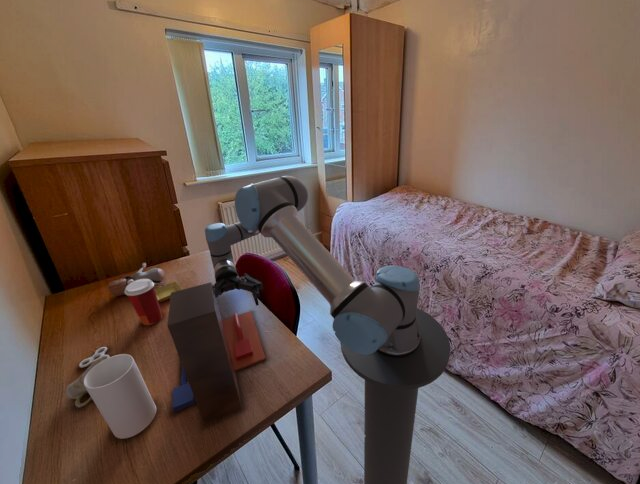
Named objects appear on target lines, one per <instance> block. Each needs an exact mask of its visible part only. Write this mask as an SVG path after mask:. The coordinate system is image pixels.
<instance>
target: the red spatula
mask: <svg viewBox="0 0 640 484" xmlns="http://www.w3.org/2000/svg"><path fill="white" fill-rule="evenodd" d="M238 315H239V314H238V313H233V316H232V317H234V322H235V326H236V331H237V336H238V340H239V342H237V343H234V344H233V345H234V350H235V355H236V360H237V361H238V360H241V359H244V358H246V357H249V356H252V355H253V352H252V348H251V344H250V340H249V338H248V339H245V340H244V339H243V335H242V331H241V326H240V322H239V318H238Z"/></svg>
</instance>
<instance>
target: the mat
mask: <svg viewBox="0 0 640 484" xmlns="http://www.w3.org/2000/svg"><path fill="white" fill-rule="evenodd" d="M238 318H239V322H240V326H241V331H242V335H243V339H244V340H245V339H248V338H249V340H250V344H251V348H252V352H253V355H252V356H249V357H246V358H244V359H241V360H238V361H237V360H236V355H235V350H234V345H233V344H234V343H237V342H239V340H238V336H237V331H236V326H235V322H234V317H233V316H232V317H228V318H224V319H222V323H223V327H224V331H225V334H226V338H227V342H228V346H229V349H230V353H231V357H232V361H233V364H234V368H235V372H237V371H240V370H243V369H245V368H247V367H250V366H253V365H255V364H258V363H260V362H263V361H265V360H266V356H265V353H264V349H263V346H262V341H261V338H260V336H259V332H258V329H257V326H256V322H255V319H254V316H253V313H252V311H247V312H244V313H241V314H238Z"/></svg>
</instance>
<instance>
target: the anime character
mask: <svg viewBox="0 0 640 484" xmlns="http://www.w3.org/2000/svg"><path fill="white" fill-rule="evenodd" d="M146 267H147V262H142V264H141V267H140V268H139V270H138V271H136V272H135V273H134V275H132V276H131V275H126V276H125V277H124V278H119V279H118V280H113V281H110V282H109V283H108V289H109V292H110V294H111V295H112V296H114V297H120V296H124V295H126V294H125V293H124V292H125V289H126V287H127V286H128V285H129V284H130V283H132V282H134V281H136V280H140V279H150V280H151V281H152V282H153V281H155V282H154V287H157V286H158V287H162V286H166V285H167V284H166V282H163V281H162V280H163V279H164V278H165V272H164V270H163V269H162V268H158V267H156V266H155V267H153V268H151V269H149V270H146V271H143V270H144V269H146ZM156 281H157V282H156Z"/></svg>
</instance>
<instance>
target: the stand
mask: <svg viewBox="0 0 640 484" xmlns="http://www.w3.org/2000/svg"><path fill="white" fill-rule="evenodd" d="M212 285H213V283H212V282H207V283H206V282H205V283H202V284H199V285H195V286H192V287H188V288H185V289H183V288H182V289H183V290H179V291H175V292H172V293H171V294H170V298H169V307H168V317H167V328H168V331H169V333H170V336H171V338H172V341H173V344H174V346H175V347H174V348H175V350H176V352H177V355H178V358H179V360H180V363H181V367H182V366H183V368H184V371H185V374H186V376H187V383H189V384H190V387H191V390H192V393H193V395H194V398H195V404H196V405H197V408H198V412H199V414H200V417H201V419H202V422H203V425H204V426H206V425H208V424H210V423H211V424H212V423H213V422H216V421H217V420H219V419H222V418H224V417H226V416H229V415H231V414H233V413H235V412H238V411H239V410H242V409H243V405H242V400H241V394H240V389H239V383H238V378H237V373H236V372H237V371H235V368H234V364H233V361H232V357H231V353H230V349H229V346H228V342H227V338H226V334H225V331H224V327H223V323H222V320H223V319H222V316H221V312H220V308H219V305H218V304H219V303H218V301H217V298H216V297H215V293H214V289H215V288H214V289H213V286H212Z"/></svg>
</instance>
